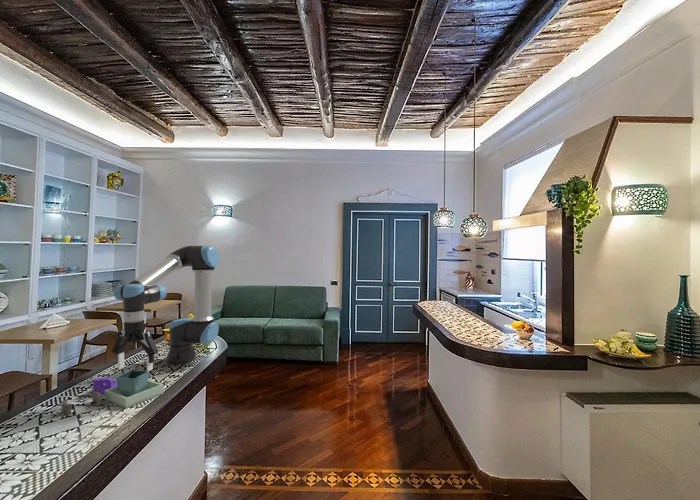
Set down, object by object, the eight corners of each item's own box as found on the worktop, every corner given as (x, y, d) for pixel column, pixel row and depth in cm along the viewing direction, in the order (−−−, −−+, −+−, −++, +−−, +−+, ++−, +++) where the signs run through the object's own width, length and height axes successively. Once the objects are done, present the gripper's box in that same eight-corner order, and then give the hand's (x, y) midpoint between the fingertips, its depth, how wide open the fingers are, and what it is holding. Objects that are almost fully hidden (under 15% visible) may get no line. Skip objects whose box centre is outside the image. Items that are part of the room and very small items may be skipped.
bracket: (111, 394, 149) (111, 379, 149) (92, 396, 147) (92, 380, 147) (121, 383, 160) (121, 369, 160) (105, 385, 159) (105, 370, 159)
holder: (98, 399, 143) (97, 390, 143) (103, 404, 139) (103, 395, 139) (59, 411, 133) (59, 401, 133) (64, 417, 129) (64, 406, 129)
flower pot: (134, 400, 141) (134, 378, 141) (115, 398, 143) (115, 377, 142) (149, 391, 150) (149, 370, 150) (131, 389, 151) (131, 369, 151)
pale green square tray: (142, 386, 157) (142, 377, 157) (163, 393, 149) (163, 384, 149) (104, 399, 143) (104, 390, 143) (126, 408, 136) (126, 398, 136)
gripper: (100, 321, 144) (102, 371, 144) (154, 323, 140) (155, 374, 141) (115, 317, 151) (116, 364, 152) (166, 319, 148) (167, 367, 148)
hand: (135, 369), depth 146 cm, fingers open, 13 cm apart
